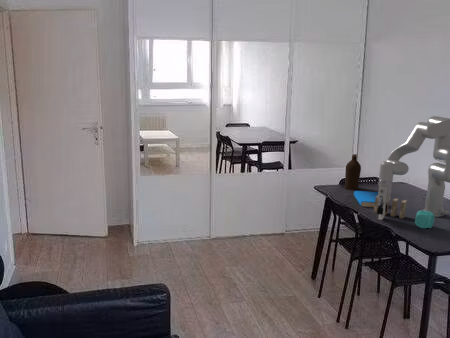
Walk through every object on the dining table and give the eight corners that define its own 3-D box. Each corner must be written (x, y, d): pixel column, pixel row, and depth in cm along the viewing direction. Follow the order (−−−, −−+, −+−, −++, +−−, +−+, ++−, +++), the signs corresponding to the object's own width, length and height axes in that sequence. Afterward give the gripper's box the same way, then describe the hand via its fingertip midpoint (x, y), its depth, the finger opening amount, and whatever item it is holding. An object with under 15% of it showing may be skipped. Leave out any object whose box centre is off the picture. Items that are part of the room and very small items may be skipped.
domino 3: (396, 214, 281) (398, 198, 279) (393, 216, 277) (395, 200, 275) (392, 214, 282) (394, 198, 280) (390, 216, 278) (392, 200, 276)
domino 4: (404, 216, 278) (406, 200, 276) (402, 218, 274) (404, 202, 272) (401, 215, 279) (403, 199, 277) (399, 218, 275) (401, 201, 273)
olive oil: (358, 191, 331) (361, 156, 326) (342, 189, 335) (346, 155, 329) (359, 187, 341) (363, 154, 335) (344, 185, 345) (348, 152, 339)
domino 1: (379, 211, 286) (381, 195, 284) (377, 213, 282) (378, 197, 280) (376, 210, 287) (378, 195, 285) (373, 212, 283) (375, 196, 281)
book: (379, 192, 317) (388, 202, 293) (378, 198, 318) (388, 208, 294) (353, 190, 319) (361, 200, 294) (353, 196, 319) (360, 207, 295)
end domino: (384, 217, 274) (386, 201, 272) (381, 220, 270) (383, 203, 268) (380, 217, 275) (382, 200, 273) (378, 219, 271) (380, 202, 269)
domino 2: (387, 213, 284) (389, 197, 281) (385, 215, 280) (387, 199, 277) (384, 212, 285) (386, 196, 282) (382, 214, 281) (383, 198, 278)
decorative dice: (418, 222, 268) (420, 209, 266) (433, 226, 263) (435, 212, 261) (414, 226, 262) (415, 212, 260) (428, 229, 257) (430, 215, 255)
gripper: (387, 187, 259) (383, 217, 263) (396, 181, 273) (392, 210, 277) (374, 184, 263) (370, 214, 267) (383, 179, 277) (379, 207, 281)
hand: (381, 212), depth 272 cm, fingers open, 7 cm apart
